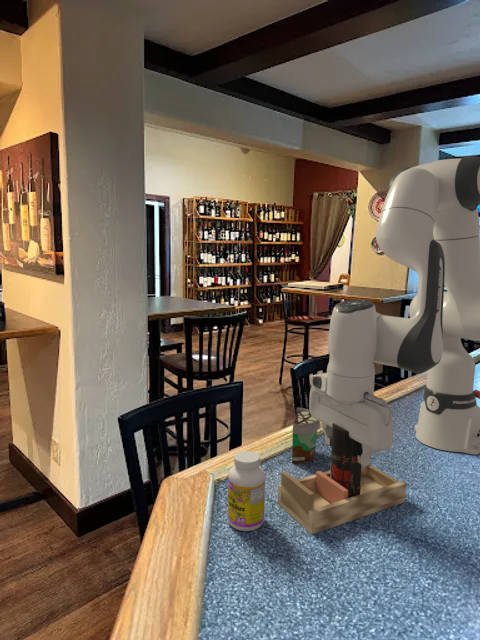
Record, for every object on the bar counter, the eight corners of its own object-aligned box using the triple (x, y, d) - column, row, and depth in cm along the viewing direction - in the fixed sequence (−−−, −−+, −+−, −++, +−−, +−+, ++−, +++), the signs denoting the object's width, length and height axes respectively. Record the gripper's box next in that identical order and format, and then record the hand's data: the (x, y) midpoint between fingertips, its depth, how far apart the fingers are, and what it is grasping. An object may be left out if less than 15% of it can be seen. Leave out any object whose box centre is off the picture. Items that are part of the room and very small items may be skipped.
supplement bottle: (220, 519, 85) (221, 453, 83) (249, 507, 89) (250, 445, 87) (242, 537, 80) (243, 468, 78) (271, 524, 84) (273, 458, 81)
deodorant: (325, 490, 94) (328, 420, 91) (354, 489, 94) (358, 419, 92) (334, 506, 88) (337, 432, 85) (364, 505, 88) (368, 431, 86)
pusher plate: (319, 489, 93) (320, 470, 93) (347, 510, 86) (348, 490, 85) (315, 490, 93) (315, 471, 92) (342, 511, 86) (343, 491, 85)
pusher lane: (366, 477, 101) (367, 447, 100) (405, 501, 92) (407, 469, 90) (277, 503, 90) (278, 470, 89) (311, 534, 81) (313, 497, 80)
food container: (318, 469, 105) (320, 427, 103) (291, 466, 106) (292, 425, 104) (320, 446, 117) (321, 408, 115) (295, 444, 118) (297, 406, 116)
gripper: (404, 399, 80) (399, 474, 82) (329, 371, 98) (326, 432, 100) (377, 405, 77) (372, 482, 79) (305, 374, 95) (302, 438, 97)
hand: (346, 454), depth 90 cm, fingers open, 8 cm apart
